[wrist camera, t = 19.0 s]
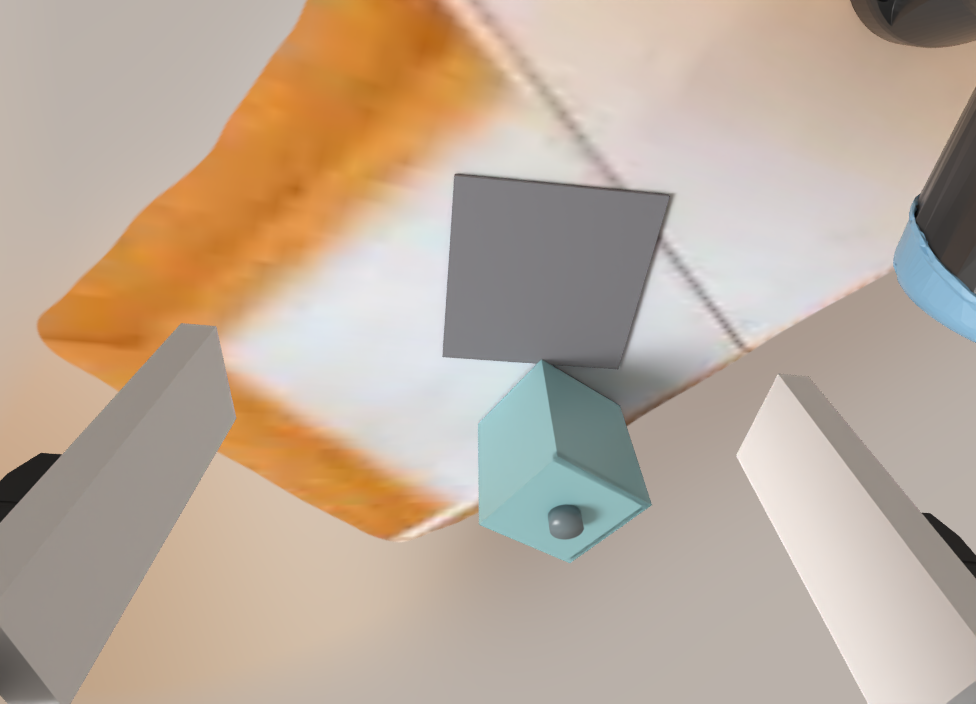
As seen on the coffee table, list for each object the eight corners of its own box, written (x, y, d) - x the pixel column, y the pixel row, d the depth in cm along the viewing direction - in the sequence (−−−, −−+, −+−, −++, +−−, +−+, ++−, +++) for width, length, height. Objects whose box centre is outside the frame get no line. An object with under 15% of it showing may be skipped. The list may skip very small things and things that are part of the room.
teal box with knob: (541, 359, 54) (560, 470, 42) (619, 405, 58) (656, 519, 46) (478, 424, 59) (479, 539, 47) (554, 462, 63) (572, 577, 51)
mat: (667, 194, 45) (669, 196, 45) (617, 366, 55) (618, 369, 55) (454, 173, 44) (454, 175, 43) (442, 354, 54) (442, 357, 53)
